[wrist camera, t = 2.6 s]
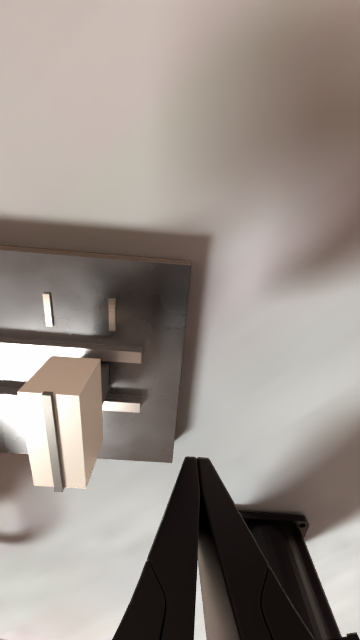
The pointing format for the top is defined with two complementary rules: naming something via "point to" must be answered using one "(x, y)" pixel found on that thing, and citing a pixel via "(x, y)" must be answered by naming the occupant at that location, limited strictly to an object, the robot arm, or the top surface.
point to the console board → (97, 339)
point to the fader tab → (64, 420)
